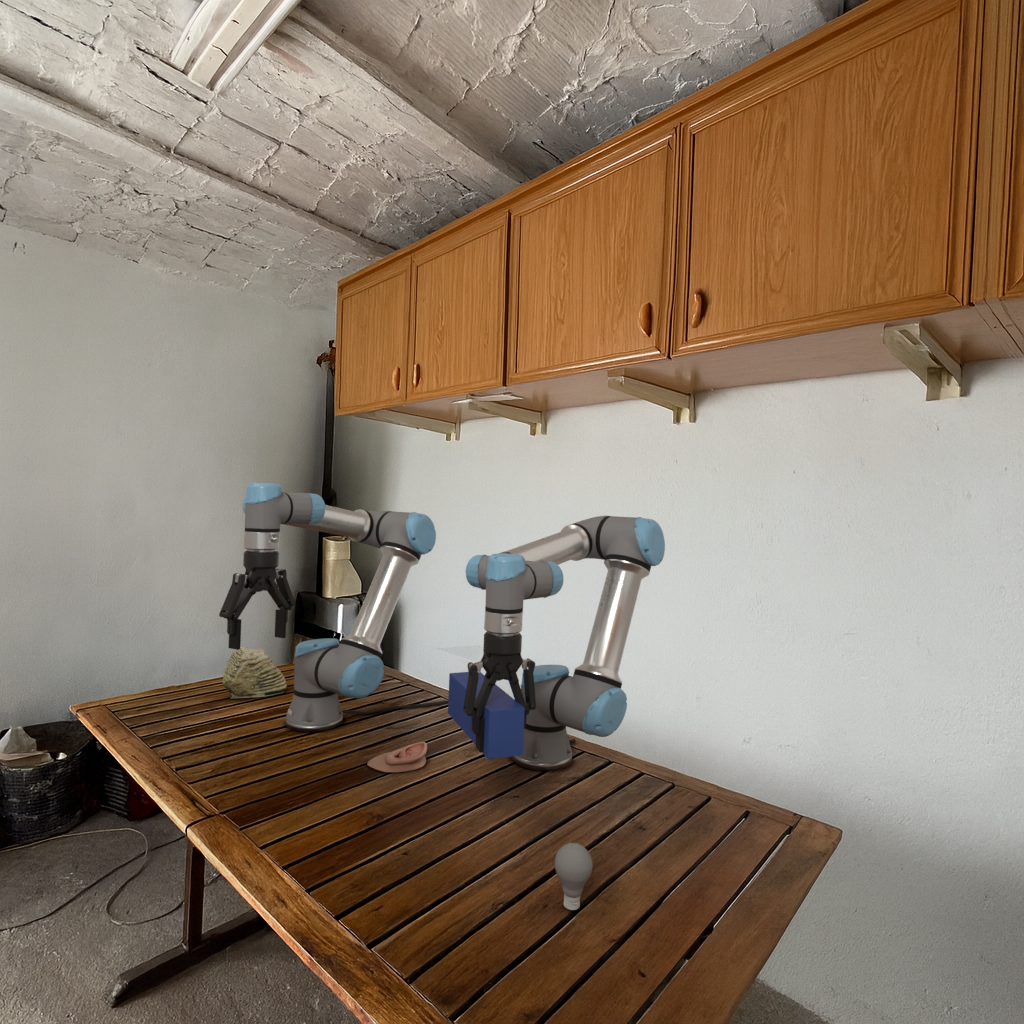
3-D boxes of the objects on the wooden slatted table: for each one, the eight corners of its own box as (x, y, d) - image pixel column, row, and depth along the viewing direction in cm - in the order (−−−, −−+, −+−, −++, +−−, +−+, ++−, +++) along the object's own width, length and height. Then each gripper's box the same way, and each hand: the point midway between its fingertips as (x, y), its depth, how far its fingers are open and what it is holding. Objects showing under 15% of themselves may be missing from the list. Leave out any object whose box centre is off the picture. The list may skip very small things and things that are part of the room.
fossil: (218, 695, 195) (220, 647, 195) (278, 685, 208) (279, 640, 207) (228, 703, 189) (230, 653, 188) (289, 692, 201) (290, 645, 201)
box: (447, 713, 145) (449, 673, 145) (477, 710, 148) (479, 670, 148) (487, 759, 120) (489, 711, 120) (522, 755, 123) (524, 707, 123)
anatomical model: (361, 752, 147) (381, 734, 159) (361, 769, 148) (381, 750, 159) (415, 759, 145) (432, 741, 156) (415, 776, 145) (431, 757, 156)
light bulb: (550, 895, 103) (552, 835, 103) (586, 895, 104) (589, 835, 104) (555, 920, 97) (558, 856, 97) (594, 919, 98) (597, 855, 98)
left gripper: (229, 554, 132) (225, 656, 132) (312, 548, 154) (308, 635, 155) (203, 552, 135) (200, 651, 135) (288, 546, 157) (285, 631, 158)
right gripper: (460, 638, 118) (455, 760, 118) (557, 634, 125) (552, 748, 126) (448, 630, 125) (444, 745, 125) (541, 626, 132) (536, 735, 133)
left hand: (258, 642), depth 145 cm, fingers open, 13 cm apart
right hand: (498, 747), depth 126 cm, fingers closed on box, 7 cm apart
